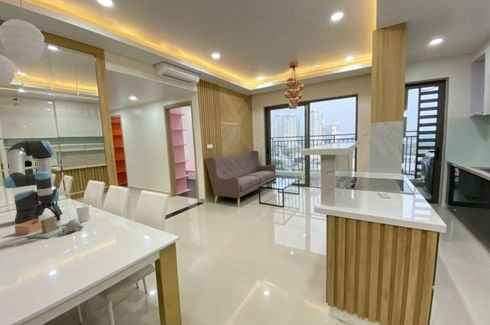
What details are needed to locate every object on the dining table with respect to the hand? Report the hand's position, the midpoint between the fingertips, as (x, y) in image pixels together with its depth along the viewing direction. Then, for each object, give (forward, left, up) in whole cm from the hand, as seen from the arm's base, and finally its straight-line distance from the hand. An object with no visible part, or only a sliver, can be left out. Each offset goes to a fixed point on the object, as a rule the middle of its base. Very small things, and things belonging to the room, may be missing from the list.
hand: (50, 225), depth 145 cm
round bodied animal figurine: (-2, +15, -6) cm, 16 cm away
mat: (0, 0, -6) cm, 6 cm away
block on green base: (0, 0, -5) cm, 5 cm away
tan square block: (-2, -19, -6) cm, 20 cm away
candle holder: (-22, +4, -6) cm, 23 cm away
